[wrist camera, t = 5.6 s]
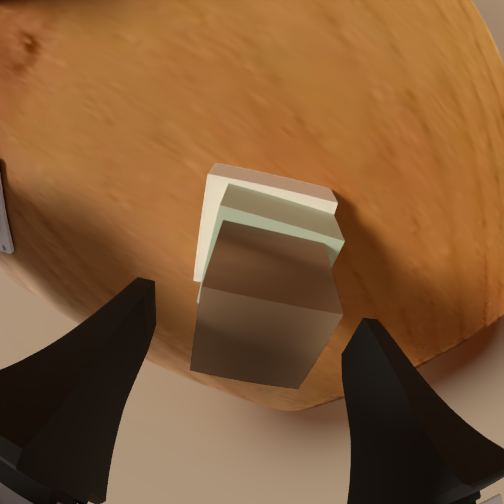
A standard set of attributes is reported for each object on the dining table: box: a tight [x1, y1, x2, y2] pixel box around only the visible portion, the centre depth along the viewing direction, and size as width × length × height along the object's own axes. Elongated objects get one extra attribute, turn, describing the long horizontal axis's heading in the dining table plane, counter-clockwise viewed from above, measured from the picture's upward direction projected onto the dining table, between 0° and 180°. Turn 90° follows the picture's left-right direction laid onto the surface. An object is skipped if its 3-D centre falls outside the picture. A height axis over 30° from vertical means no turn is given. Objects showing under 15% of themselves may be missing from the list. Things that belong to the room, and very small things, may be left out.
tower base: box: [193, 163, 338, 282], centre depth 16 cm, size 6×6×2 cm
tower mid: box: [197, 183, 345, 303], centre depth 13 cm, size 5×5×2 cm
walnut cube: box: [190, 220, 343, 389], centre depth 11 cm, size 4×4×4 cm
